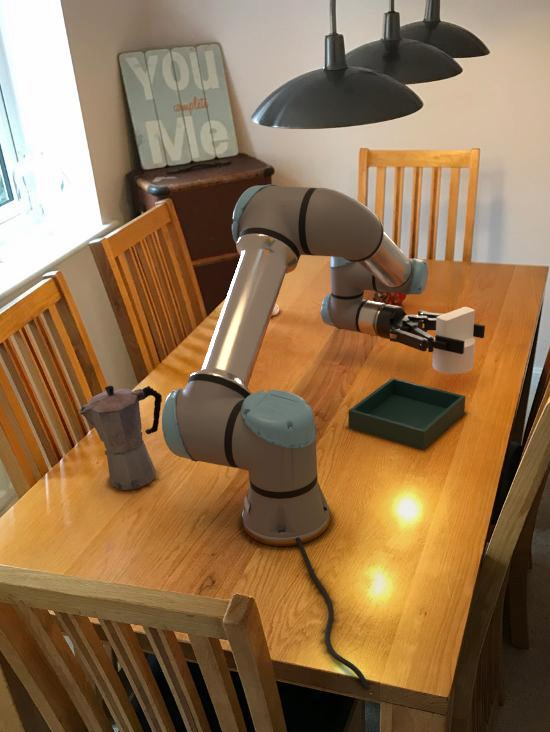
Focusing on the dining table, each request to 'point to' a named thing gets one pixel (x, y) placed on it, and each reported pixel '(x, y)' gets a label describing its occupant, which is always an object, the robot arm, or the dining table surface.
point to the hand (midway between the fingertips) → (473, 339)
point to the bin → (407, 413)
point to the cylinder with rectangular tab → (459, 328)
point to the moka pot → (123, 434)
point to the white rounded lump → (275, 310)
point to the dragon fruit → (389, 298)
